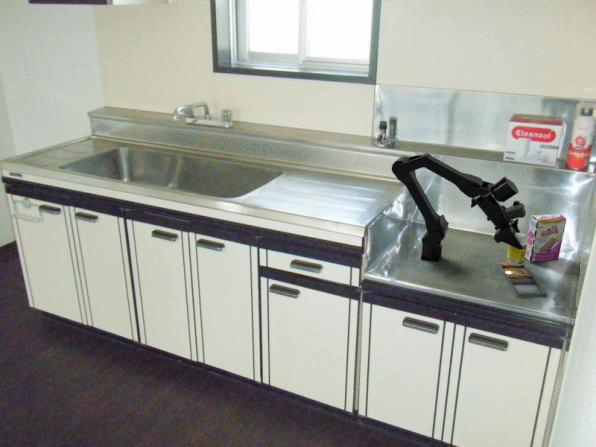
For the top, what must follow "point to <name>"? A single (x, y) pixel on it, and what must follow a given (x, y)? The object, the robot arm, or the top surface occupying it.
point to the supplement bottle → (517, 251)
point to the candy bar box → (544, 237)
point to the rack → (520, 279)
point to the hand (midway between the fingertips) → (522, 245)
